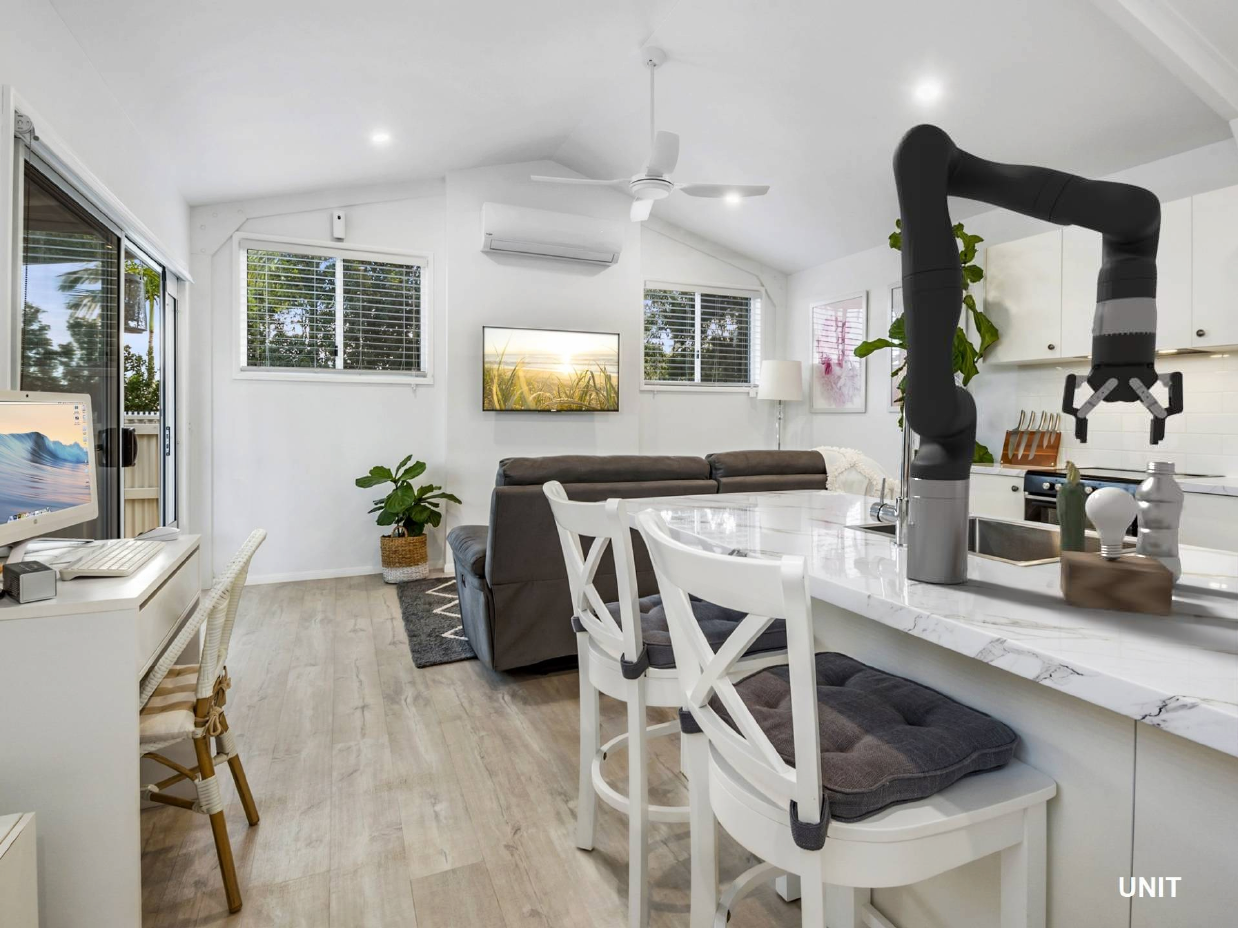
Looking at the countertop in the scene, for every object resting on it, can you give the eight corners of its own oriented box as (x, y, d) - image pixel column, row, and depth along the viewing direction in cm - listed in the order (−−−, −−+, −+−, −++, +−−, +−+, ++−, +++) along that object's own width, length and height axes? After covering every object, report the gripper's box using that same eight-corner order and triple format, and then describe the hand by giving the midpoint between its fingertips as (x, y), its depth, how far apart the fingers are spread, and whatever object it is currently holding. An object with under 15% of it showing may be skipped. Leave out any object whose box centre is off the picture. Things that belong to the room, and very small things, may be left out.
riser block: (1067, 605, 100) (1069, 564, 100) (1060, 587, 111) (1061, 550, 110) (1171, 615, 94) (1173, 573, 94) (1152, 595, 105) (1154, 557, 105)
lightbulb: (1076, 557, 106) (1075, 486, 105) (1118, 556, 106) (1117, 484, 105) (1104, 564, 99) (1103, 488, 99) (1149, 563, 99) (1148, 487, 99)
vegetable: (1088, 579, 116) (1093, 461, 115) (1060, 578, 117) (1064, 461, 115) (1076, 573, 120) (1081, 460, 119) (1049, 572, 121) (1053, 460, 120)
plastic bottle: (1138, 586, 111) (1143, 463, 110) (1125, 577, 117) (1130, 461, 116) (1187, 590, 108) (1193, 464, 107) (1171, 580, 115) (1177, 461, 113)
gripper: (1068, 333, 100) (1063, 443, 101) (1192, 327, 93) (1185, 446, 94) (1063, 338, 107) (1058, 442, 108) (1179, 333, 100) (1172, 444, 101)
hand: (1117, 443), depth 101 cm, fingers open, 8 cm apart
